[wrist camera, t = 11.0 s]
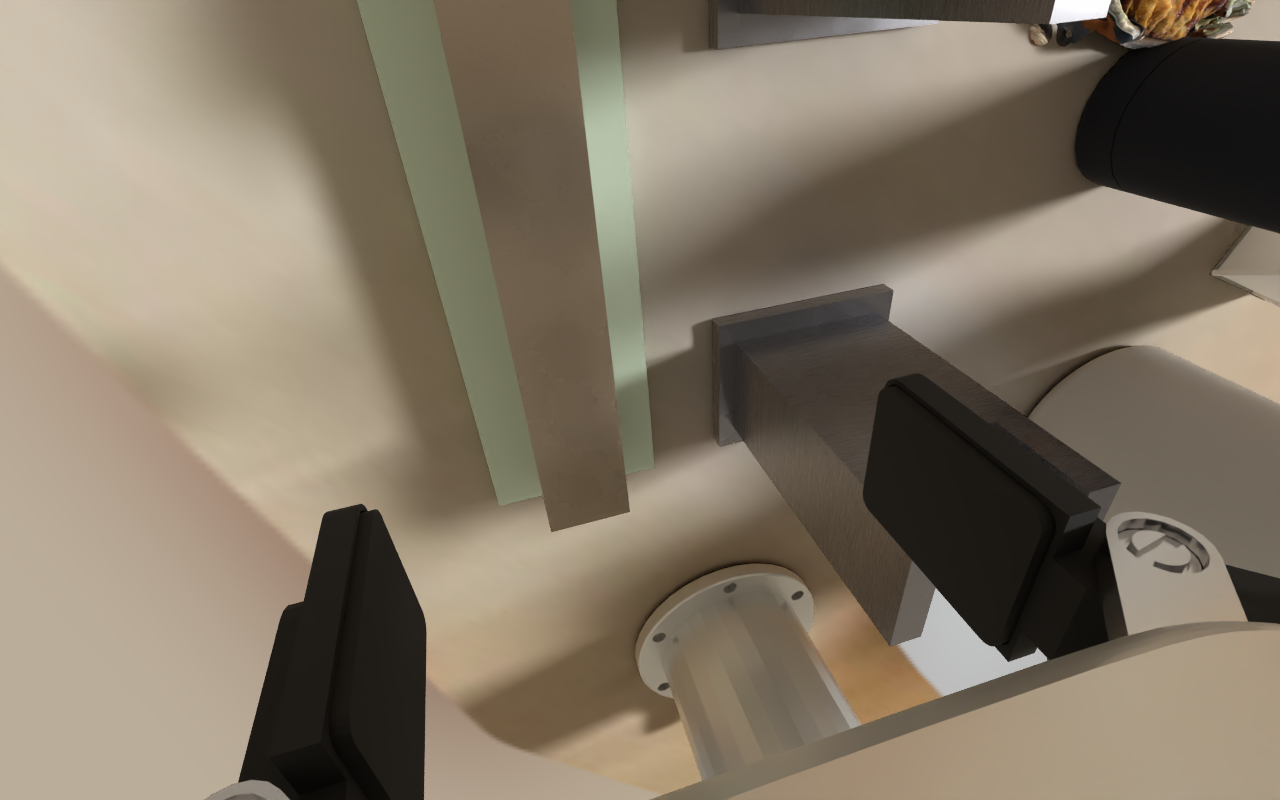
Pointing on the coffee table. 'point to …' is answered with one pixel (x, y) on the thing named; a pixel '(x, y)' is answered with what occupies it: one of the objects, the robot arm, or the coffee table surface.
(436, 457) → the coffee table surface
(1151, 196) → the wine bottle
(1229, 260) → the skyscraper
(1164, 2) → the pastry
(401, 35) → the mat
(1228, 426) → the cylinder vase
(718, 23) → the post
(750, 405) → the post
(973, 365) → the coffee table surface
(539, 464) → the rail
